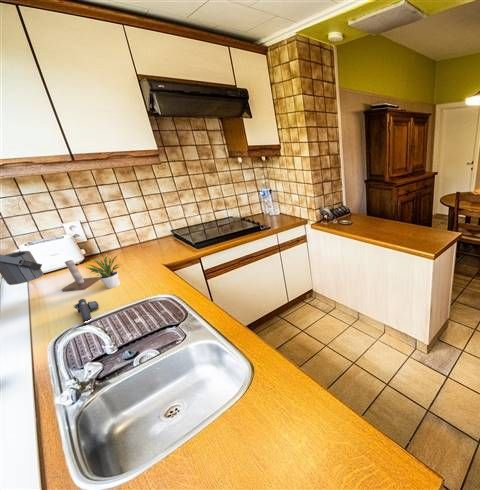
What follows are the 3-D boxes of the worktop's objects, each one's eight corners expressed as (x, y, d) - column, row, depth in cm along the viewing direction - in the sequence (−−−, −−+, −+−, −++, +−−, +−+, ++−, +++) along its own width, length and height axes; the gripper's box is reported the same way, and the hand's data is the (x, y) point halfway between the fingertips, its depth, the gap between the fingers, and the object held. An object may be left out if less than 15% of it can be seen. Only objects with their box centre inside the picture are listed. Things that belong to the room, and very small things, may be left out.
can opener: (78, 310, 116) (71, 300, 114) (99, 303, 120) (93, 293, 118) (76, 329, 104) (69, 318, 102) (100, 321, 109) (93, 310, 106)
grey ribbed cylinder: (0, 286, 110) (-17, 262, 106) (24, 274, 119) (10, 252, 115) (27, 283, 111) (12, 260, 107) (49, 271, 120) (36, 249, 116)
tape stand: (62, 291, 132) (47, 267, 126) (79, 281, 141) (66, 257, 135) (85, 289, 133) (71, 264, 127) (100, 279, 142) (88, 255, 136)
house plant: (127, 274, 145) (114, 247, 138) (138, 280, 138) (125, 252, 132) (93, 287, 134) (77, 258, 127) (103, 294, 127) (87, 264, 121)
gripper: (-82, 259, 96) (3, 274, 116) (-31, 260, 93) (47, 276, 114) (-69, 240, 98) (12, 258, 119) (-19, 240, 96) (55, 259, 116)
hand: (29, 267), depth 116 cm, fingers closed on grey ribbed cylinder, 10 cm apart
